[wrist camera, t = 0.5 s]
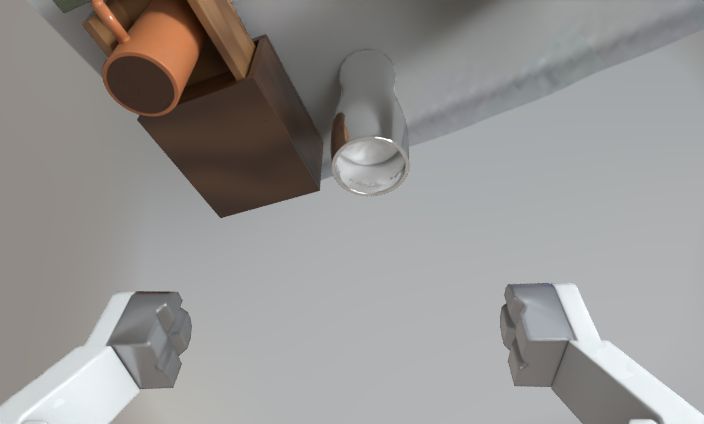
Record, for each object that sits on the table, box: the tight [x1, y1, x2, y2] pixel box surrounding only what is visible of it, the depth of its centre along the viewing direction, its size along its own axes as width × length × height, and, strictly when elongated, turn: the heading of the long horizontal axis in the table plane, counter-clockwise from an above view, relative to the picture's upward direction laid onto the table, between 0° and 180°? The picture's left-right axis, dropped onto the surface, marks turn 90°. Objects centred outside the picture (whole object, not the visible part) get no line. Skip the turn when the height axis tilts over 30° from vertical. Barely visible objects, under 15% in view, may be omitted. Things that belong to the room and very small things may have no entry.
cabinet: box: [137, 34, 323, 218], centre depth 50 cm, size 14×12×8 cm
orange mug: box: [91, 0, 209, 116], centre depth 38 cm, size 9×6×12 cm, turn 21°
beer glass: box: [331, 49, 410, 196], centre depth 44 cm, size 7×7×15 cm
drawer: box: [53, 0, 257, 102], centre depth 41 cm, size 18×11×7 cm, turn 21°
